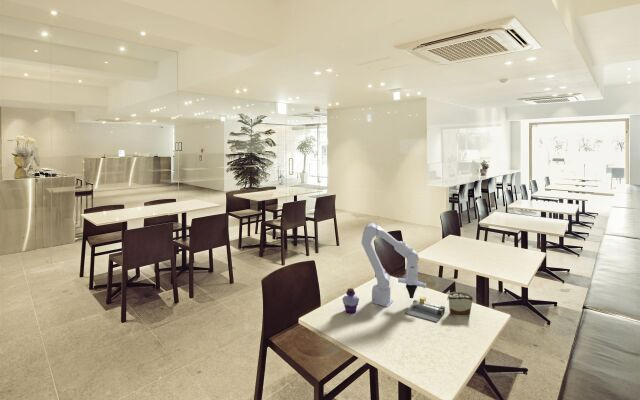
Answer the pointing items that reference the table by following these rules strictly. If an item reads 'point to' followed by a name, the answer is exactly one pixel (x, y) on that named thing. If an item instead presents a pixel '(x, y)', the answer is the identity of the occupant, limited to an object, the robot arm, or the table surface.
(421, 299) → the collar
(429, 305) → the tongs fixed
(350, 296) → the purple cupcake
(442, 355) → the table surface
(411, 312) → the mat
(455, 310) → the food container
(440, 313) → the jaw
